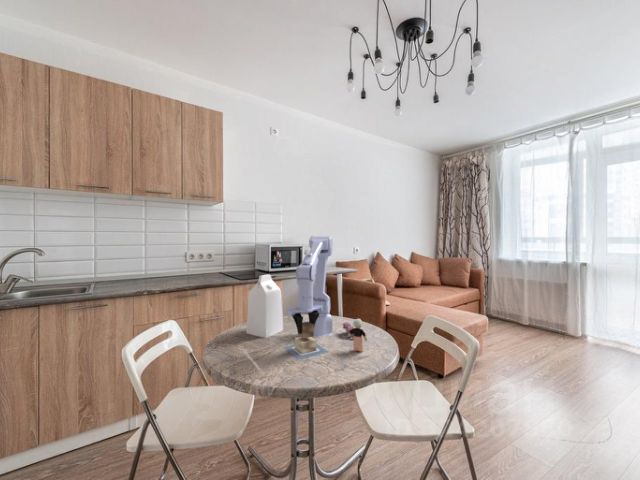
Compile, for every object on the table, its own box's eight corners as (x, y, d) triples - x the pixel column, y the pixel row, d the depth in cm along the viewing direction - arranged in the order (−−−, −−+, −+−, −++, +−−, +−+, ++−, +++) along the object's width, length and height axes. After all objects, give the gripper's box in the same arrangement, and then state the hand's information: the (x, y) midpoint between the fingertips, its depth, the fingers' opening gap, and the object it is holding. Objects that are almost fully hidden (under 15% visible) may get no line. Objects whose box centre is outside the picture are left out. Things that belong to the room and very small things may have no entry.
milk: (264, 326, 141) (264, 272, 140) (283, 330, 135) (283, 274, 134) (246, 333, 130) (246, 275, 130) (266, 337, 125) (265, 277, 124)
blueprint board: (312, 342, 120) (312, 340, 120) (329, 353, 108) (329, 351, 108) (283, 348, 113) (283, 346, 113) (298, 361, 102) (298, 359, 102)
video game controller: (346, 335, 132) (339, 322, 132) (355, 330, 133) (348, 317, 132) (350, 343, 122) (343, 329, 122) (360, 338, 123) (353, 324, 122)
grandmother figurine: (368, 351, 110) (368, 318, 110) (366, 355, 107) (366, 321, 106) (348, 348, 113) (348, 316, 113) (346, 352, 109) (346, 319, 109)
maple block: (308, 345, 115) (308, 335, 115) (316, 350, 110) (316, 340, 110) (295, 348, 112) (295, 338, 112) (302, 353, 107) (302, 343, 106)
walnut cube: (308, 332, 114) (308, 321, 114) (313, 336, 110) (313, 324, 110) (297, 334, 111) (297, 323, 111) (303, 338, 107) (303, 326, 107)
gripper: (292, 300, 103) (293, 338, 103) (327, 296, 111) (327, 331, 111) (284, 297, 109) (284, 332, 109) (317, 293, 117) (317, 326, 117)
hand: (305, 331), depth 111 cm, fingers closed on walnut cube, 4 cm apart
